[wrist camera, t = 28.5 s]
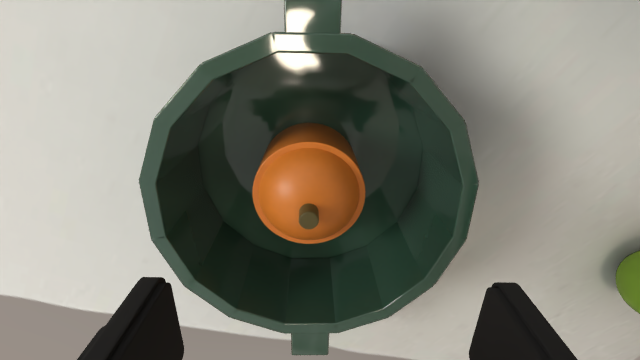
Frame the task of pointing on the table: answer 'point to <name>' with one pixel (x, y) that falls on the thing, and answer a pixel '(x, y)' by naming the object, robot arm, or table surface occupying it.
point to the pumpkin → (309, 184)
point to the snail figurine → (630, 280)
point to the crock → (247, 153)
